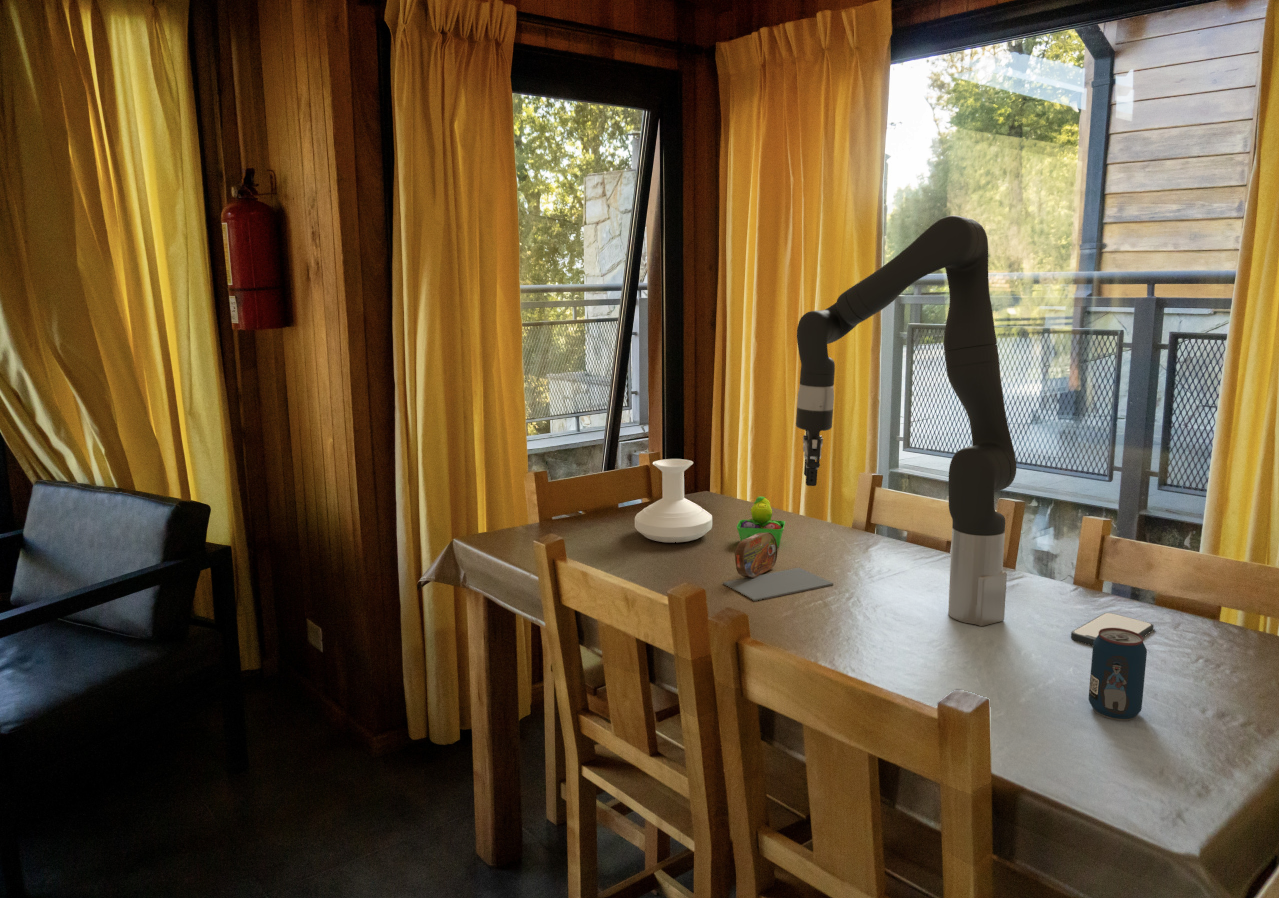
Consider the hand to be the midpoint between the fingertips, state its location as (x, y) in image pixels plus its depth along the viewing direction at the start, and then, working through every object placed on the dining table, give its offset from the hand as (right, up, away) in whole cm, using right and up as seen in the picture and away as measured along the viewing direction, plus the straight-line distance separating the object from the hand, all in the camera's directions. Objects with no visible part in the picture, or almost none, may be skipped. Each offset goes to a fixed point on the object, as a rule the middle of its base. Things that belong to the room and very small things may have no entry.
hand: (809, 480), depth 187 cm
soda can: (+34, -32, -58) cm, 74 cm away
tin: (-11, -21, +6) cm, 24 cm away
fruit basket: (-6, -17, +29) cm, 34 cm away
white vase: (-28, -16, +36) cm, 48 cm away
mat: (-7, -22, -1) cm, 23 cm away
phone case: (+49, -27, -30) cm, 63 cm away
